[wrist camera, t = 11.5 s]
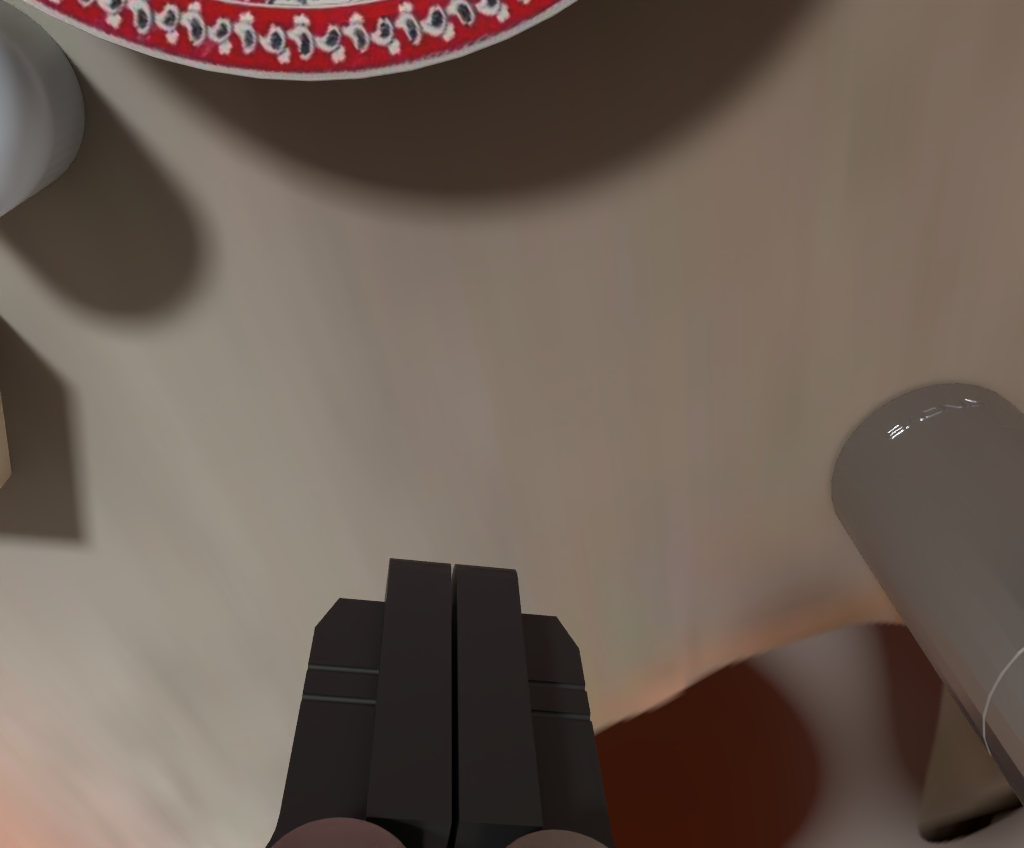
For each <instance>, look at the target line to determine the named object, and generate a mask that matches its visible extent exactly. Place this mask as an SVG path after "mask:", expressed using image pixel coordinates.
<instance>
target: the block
mask: <svg viewBox="0 0 1024 848" xmlns="http://www.w3.org/2000/svg"><path fill="white" fill-rule="evenodd" d="M11 475H12V472H11V465H10V457H9V450H8V442H7V435H6V428H5V420H4V413H3V406H2V398H1V391H0V489H1V488H2V486H3V485H4V484H5V483H6V481H7V480H8V479H9V477H10V476H11Z"/></svg>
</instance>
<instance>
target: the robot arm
mask: <svg viewBox="0 0 1024 848" xmlns="http://www.w3.org/2000/svg"><path fill="white" fill-rule="evenodd" d="M832 501H833V505H834V508H835V512H836V514H837V516H838V518H839V519H840V521H841V523H842V525H843V526H844V528H845V529H846V531H847V533H848V534H849V536H850V537H851V539H852V540H853V542H854V544H855V545H856V547H857V548H858V550H859V551H860V553H861V555H862V556H863V558H864V559H865V561H866V562H867V564H868V565H869V567H870V569H871V571H872V572H873V574H874V575H875V577H876V579H877V580H878V582H879V583H880V585H881V586H882V588H883V589H884V591H885V592H886V594H887V596H888V597H889V599H890V600H891V602H892V603H893V605H894V606H895V608H896V610H897V611H898V613H899V614H900V616H901V617H902V619H903V620H904V622H905V624H906V625H907V627H908V628H909V630H910V631H911V633H912V634H913V636H914V637H915V639H916V641H917V642H918V644H919V645H920V647H921V648H922V650H923V652H924V653H925V655H926V656H927V658H928V659H929V661H930V662H931V664H932V665H933V667H934V669H935V670H936V672H937V673H938V675H939V676H940V678H941V679H942V681H943V683H944V684H945V686H946V687H947V689H948V690H949V692H950V693H951V695H952V697H953V698H954V700H955V701H956V703H957V704H958V706H959V707H960V709H961V711H962V712H963V714H964V715H965V717H966V718H967V720H968V721H969V723H970V725H971V726H972V728H973V729H974V731H975V732H976V734H977V735H978V737H979V738H980V740H981V742H982V743H983V745H984V746H985V748H986V749H987V751H988V752H989V754H990V755H991V756H992V758H993V759H994V761H995V762H996V764H997V766H998V767H999V769H1000V770H1001V772H1002V773H1003V775H1004V776H1005V778H1006V780H1007V781H1008V783H1009V784H1010V786H1011V787H1012V789H1013V790H1014V792H1015V794H1016V795H1017V797H1018V798H1019V800H1020V801H1021V803H1022V804H1023V806H1024V414H1023V413H1022V412H1021V411H1020V410H1018V409H1017V408H1016V407H1015V406H1014V405H1013V404H1012V403H1010V402H1009V401H1007V400H1006V399H1005V398H1003V397H1002V396H1000V395H999V394H997V393H996V392H993V391H991V390H988V389H985V388H982V387H980V386H975V385H967V384H959V383H956V384H942V385H934V386H930V387H926V388H922V389H918V390H914V391H912V392H910V393H908V394H905V395H903V396H901V397H899V398H896V399H894V400H892V401H891V402H889V403H888V404H886V405H885V406H883V407H882V408H880V409H879V410H877V411H876V412H874V413H873V414H872V415H871V416H870V417H869V418H868V419H867V420H866V421H864V422H863V423H862V424H861V425H860V426H859V427H858V428H857V429H856V431H855V432H854V433H853V435H852V436H851V437H850V439H849V440H848V441H847V443H846V444H845V446H844V448H843V450H842V452H841V454H840V456H839V458H838V460H837V462H836V465H835V469H834V473H833V477H832ZM265 848H615V845H614V842H613V837H612V834H611V828H610V822H609V816H608V811H607V805H606V800H605V794H604V788H603V782H602V777H601V771H600V765H599V759H598V754H597V748H596V743H595V737H594V731H593V725H592V721H590V708H589V703H588V697H587V691H585V680H584V674H583V669H582V663H581V657H580V652H579V648H578V647H577V645H576V644H575V642H574V641H573V639H572V638H571V637H570V635H569V634H568V632H567V631H566V630H565V628H564V627H563V625H562V624H561V623H560V621H559V620H558V618H557V617H556V616H544V615H533V614H521V605H520V595H519V586H518V577H517V572H516V570H514V569H504V568H493V567H482V566H471V565H461V564H455V566H454V569H453V574H452V579H451V564H447V563H436V562H426V561H415V560H404V559H393V558H390V561H389V569H388V577H387V585H386V594H385V602H380V601H368V600H356V599H345V598H339V599H338V600H337V602H336V603H335V604H334V605H333V606H332V608H331V609H330V610H329V611H328V612H327V614H326V615H325V616H324V617H323V618H322V620H321V621H320V622H319V623H318V624H317V626H316V627H315V631H314V636H313V642H312V647H311V652H310V657H309V663H308V670H307V673H306V678H305V684H304V689H303V695H302V701H301V705H300V710H299V715H298V721H297V726H296V731H295V736H294V742H293V747H292V752H291V758H290V763H289V768H288V773H287V779H286V784H285V789H284V794H283V800H282V805H281V810H280V815H279V819H278V823H277V826H276V829H275V831H274V833H273V835H272V838H271V840H270V842H269V843H268V844H267V846H266V847H265Z"/></svg>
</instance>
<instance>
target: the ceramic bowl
mask: <svg viewBox="0 0 1024 848" xmlns="http://www.w3.org/2000/svg"><path fill="white" fill-rule="evenodd" d="M23 1H25V2H27V3H29V4H30V5H32V6H34V7H36V8H38V9H39V10H41V11H43V12H45V13H46V14H48V15H50V16H53V17H55V18H57V19H59V20H61V21H64V22H66V23H68V24H70V25H72V26H75V27H77V28H79V29H81V30H83V31H86V32H88V33H90V34H92V35H94V36H97V37H99V38H101V39H103V40H106V41H109V42H112V43H115V44H118V45H120V46H123V47H126V48H129V49H132V50H135V51H137V52H140V53H143V54H146V55H149V56H152V57H154V58H158V59H162V60H166V61H170V62H174V63H178V64H182V65H186V66H190V67H194V68H198V69H202V70H206V71H211V72H218V73H224V74H231V75H238V76H244V77H251V78H258V79H273V80H294V81H328V80H346V79H363V78H369V77H375V76H382V75H388V74H394V73H401V72H407V71H412V70H416V69H420V68H424V67H427V66H431V65H435V64H438V63H442V62H446V61H450V60H453V59H457V58H461V57H463V56H466V55H468V54H471V53H474V52H476V51H479V50H481V49H484V48H487V47H489V46H492V45H494V44H497V43H500V42H502V41H505V40H507V39H509V38H511V37H513V36H515V35H517V34H519V33H521V32H523V31H525V30H527V29H529V28H531V27H533V26H535V25H537V24H539V23H541V22H543V21H545V20H547V19H549V18H551V17H553V16H554V15H556V14H558V13H559V12H561V11H562V10H564V9H565V8H567V7H568V6H570V5H572V4H573V3H575V2H576V1H578V0H23Z"/></svg>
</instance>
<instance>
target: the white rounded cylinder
mask: <svg viewBox="0 0 1024 848" xmlns="http://www.w3.org/2000/svg"><path fill="white" fill-rule="evenodd" d="M84 127H85V110H84V101H83V97H82V92H81V88H80V85H79V82H78V80H77V77H76V74H75V72H74V70H73V68H72V66H71V64H70V62H69V60H68V59H67V57H66V56H65V54H64V53H63V51H62V50H61V48H60V47H59V45H58V44H57V43H56V42H55V41H54V39H53V38H52V37H51V36H50V35H49V34H48V33H47V32H46V31H45V30H44V29H43V28H42V27H41V26H40V25H39V24H38V23H37V22H35V21H34V20H33V19H32V18H31V17H29V16H28V15H27V14H25V13H24V12H22V11H20V10H19V9H17V8H16V7H14V6H12V5H10V4H8V3H6V2H4V1H2V0H0V217H1V216H3V215H4V214H6V213H7V212H9V211H10V210H12V209H13V208H15V207H16V206H18V205H19V204H21V203H22V202H24V201H25V200H27V199H28V198H30V197H31V196H33V195H34V194H36V193H37V192H39V191H40V190H42V189H43V188H45V187H46V186H48V185H49V184H51V183H52V182H53V181H55V180H56V179H57V178H59V177H60V176H61V175H62V174H63V173H64V172H65V171H66V170H67V169H68V168H69V166H70V165H71V163H72V162H73V160H74V159H75V157H76V155H77V153H78V151H79V148H80V145H81V142H82V139H83V133H84Z"/></svg>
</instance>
